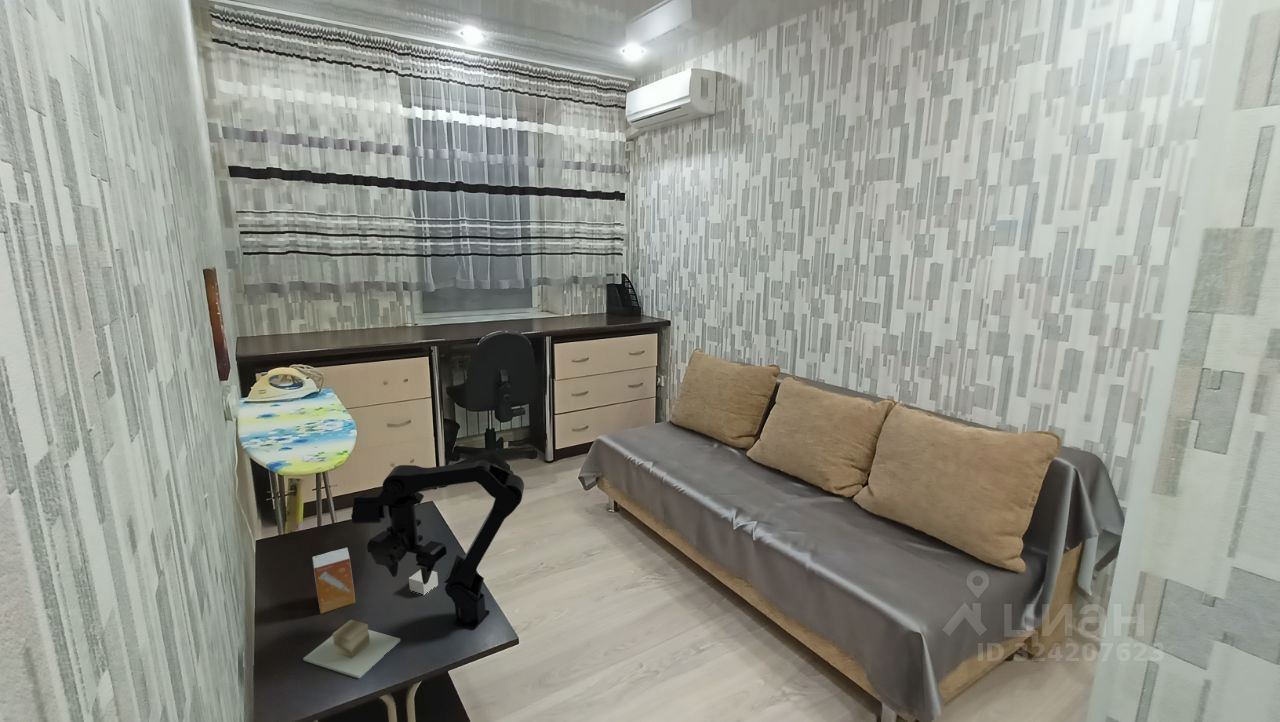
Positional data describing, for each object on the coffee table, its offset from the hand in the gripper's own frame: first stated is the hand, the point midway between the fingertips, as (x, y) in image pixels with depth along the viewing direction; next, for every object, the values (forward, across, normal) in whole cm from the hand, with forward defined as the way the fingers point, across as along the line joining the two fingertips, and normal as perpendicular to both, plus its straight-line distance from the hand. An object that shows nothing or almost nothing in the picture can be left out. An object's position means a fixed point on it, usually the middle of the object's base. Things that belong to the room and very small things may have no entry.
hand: (410, 579), depth 132 cm
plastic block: (+12, -8, +12) cm, 19 cm away
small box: (+12, -25, 0) cm, 28 cm away
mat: (+12, -7, -12) cm, 18 cm away
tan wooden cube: (+11, -7, -12) cm, 18 cm away
